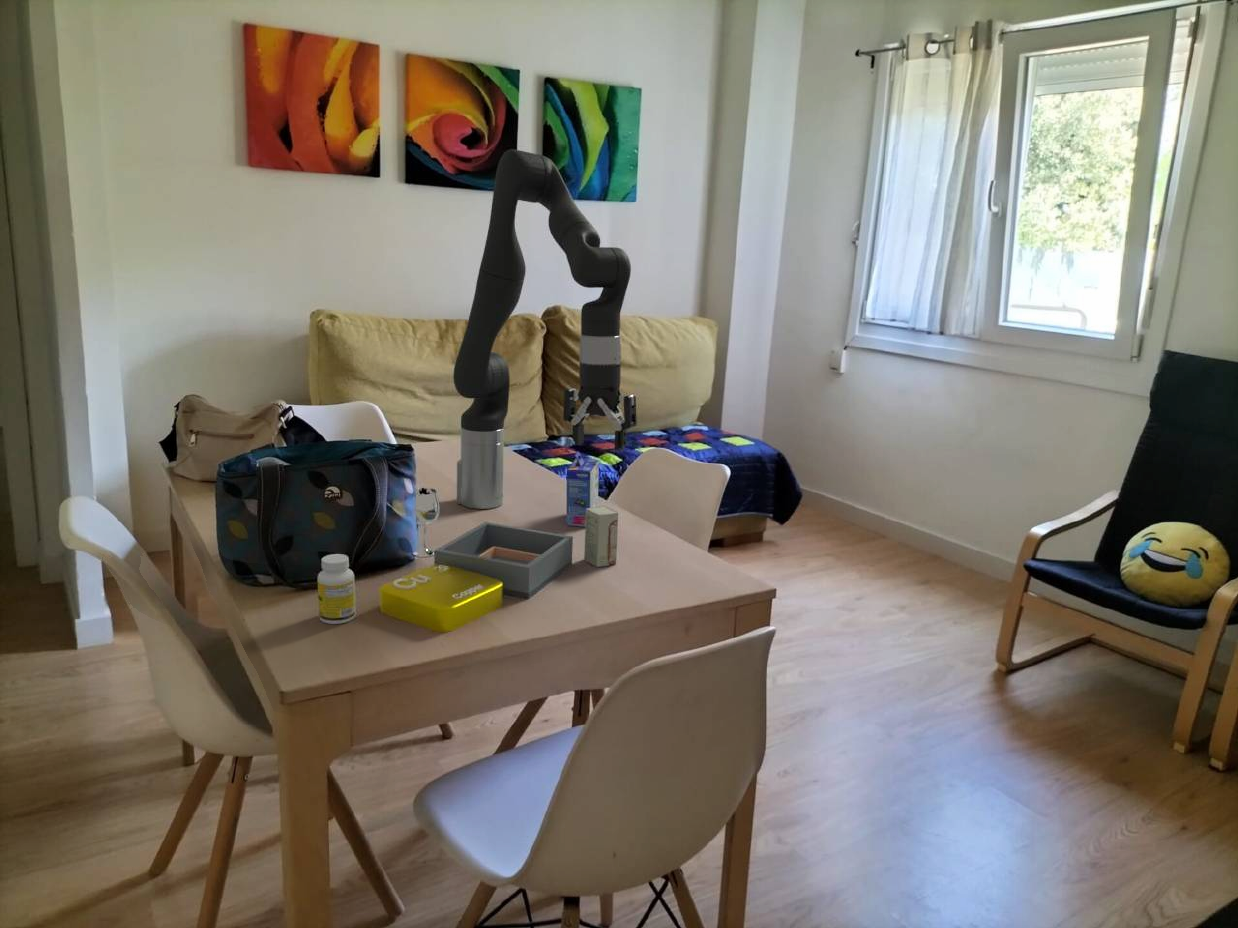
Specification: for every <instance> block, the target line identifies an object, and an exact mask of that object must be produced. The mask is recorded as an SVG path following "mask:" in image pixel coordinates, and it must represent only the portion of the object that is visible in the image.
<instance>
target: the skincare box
mask: <svg viewBox="0 0 1238 928" xmlns="http://www.w3.org/2000/svg"><path fill="white" fill-rule="evenodd" d="M618 526H619V512H618V511H615V510H613V509H612V508H610V507H607V506H598V507H595V508H586V521H585V527H584V550H583V551H584V554H583V555H584V557H583V558H584V560H585V561H586V562H587V563H590V564H591V565H592V566H595V567H596V568H600V567H605V566H612V565H617V554H618V553H617V552H618V548H617V547H618V531H619V530H618Z"/></svg>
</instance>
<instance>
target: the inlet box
mask: <svg viewBox="0 0 1238 928" xmlns="http://www.w3.org/2000/svg"><path fill="white" fill-rule="evenodd" d="M573 538H574V537H573V536H571V535H565V534H559V533H554V532H547V531H543V530H542V531H541V530H535V529H529V528H524V527H517V526H514V525H513V526H511V525H506V524H499V523H494V522H487V521H485V522H482V523H480V524H479V525H477V526H475V527H474V528H472V529H470V530H467V532H464V533H463V534H461V535H459V536H457V537H455V538H454V539H452V540H450V541H448V542H447V543H444V544H443V545H441V546H440V547H437V548H436V549H433V550H434V555H433V556H434V564H438V563H443V564H447V565H451V566H454V567H457V568H461V569H464V570H467V571H471V572H474V573H477V574H481V575H484V576H488V577H491V578H494V579H498V580H500V581H501V582H502V583H503V595H505V596H506V595H507V596H512V597H516V598H522V599H526V600H530V599H531V598H532V597H533V596H534V595H535V594H537V593H538V592H540V591H541V590H542V589H544V588H545V587H546V586H547V585H548V584H550V583H551V582H553V580H555V579H556V578H557V577H559V576H560V575H561V574H563V573H564V572H565V571H566V570H567V569H569V568H570V567H571V566H572V565H573V545H574V544H573ZM434 564H433V565H434Z"/></svg>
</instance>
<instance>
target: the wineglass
mask: <svg viewBox="0 0 1238 928" xmlns="http://www.w3.org/2000/svg"><path fill="white" fill-rule="evenodd" d="M415 489H416V520H417V523H416V524H417V525H419V526H421V529H420V531H421V535H422V536H421V537H422V545H421V547H420V548H417V549H418V554H417V556H418V558H428V557H433V556H434V550H435V549H433V548H427V547H426V533H427V532H428V531H427V525H430V524H432V523H434V522H435V521H437V519H438V518H439V515H440V511H441V510H440V509H441V507H440V506H441V505H440V500H439V495H438V492H437V490H436V489H434V488H431V487H417V488H415ZM417 556H416V557H417Z"/></svg>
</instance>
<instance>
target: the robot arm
mask: <svg viewBox="0 0 1238 928" xmlns="http://www.w3.org/2000/svg"><path fill="white" fill-rule="evenodd" d="M494 178H495V180H494V185H493V194H492V200H491V201H492V202H491V210H490V218H489V223H488V230H487V235H486V240H485V245H484V249H483V254H482V258H481V262H480V266H479V269H478V275H477V279H476V283H475V291H474V296H473V300H472V304H471V308H470V313H469V316H468V321H467V325H466V329H465V332H464V336H463V339H462V342H461V345H460V347H459V351H458V354H457V356H456V359H455V360H456V361H455V364H454V368H453V383H454V387H455V389H456V391H457V393H458V394H459V395H460V396H462V397H463V398H466V399H473V402H472V403H471V405H470V406H469V407H468V408H467V409H466V410H465V411H464V412H463V413H461V416H460V460H458V461H457V462H456V504H459V505H462V506H463V507H466V508H470V509H478V510H483V509H485V510H486V509H494V508H498V507H500V506H502V505H503V501H504V499H503V497H504V493H503V491H504V448H505V446H504V442H505V440H504V439H505V437H504V436H505V433H504V432H505V429H504V428H505V419H506V417H507V416H508V411H509V399H510V397H509V396H510V385H511V384H510V383H511V382H510V381H511V380H510V377H511V376H510V369H509V366H508V364H507V363H508V362H507V361H506V359H505V358H504V356H502V355H501V354H499V353H497V352H492V351H493V347H494V343H495V341H496V340H497V339H496V338H498V337H497V336H498V335H499V334H500V333H499V332H501V330H502V328H503V327H504V325H505V324H506V323H507V322H508V320H509V318H510V317H511V315H512V313H513V312H514V310H515V309H516V307H517V305H518V303H519V302H520V297H521V294H522V289H523V287H524V286H523V285H524V282H525V278H526V269H527V268H526V267H527V266H526V262H525V258H524V254H523V252H522V248H521V246H520V242H519V240H518V236H517V232H516V225H515V224H516V221H515V220H516V212H517V205H518V202H519V201H522V202H526V203H535V204H536V203H538V204H540V205H542V206H543V207H544V208H546V209H547V210H548V211H549V214H548V228H549V229H548V230H549V232H550V234H551V236H552V237H553V239H554V241H555V242H556V244H558V246H559V247H560V249H561V250H562V251H563V253H564V254H565V256H566V260H567V263H568V266H569V270H570V273H571V277H572V279H573V281H575V282H576V284H578V285H580V286H581V287H583V288H588V289H595V288H597V289H598V288H599V289H600V288H602V291H601V293H600V294H599V295H600V296H599V297H598V298H596V299H594V300H591V301H588V302H585V303H584V304H583V305H582V307H581V313H580V320H581V321H580V343H579V355H578V356H579V358H578V359H579V364H578V365H579V372H578V373H579V374H578V375H579V377H578V382H579V386H580V388H579V390H578V389H577V388H575V387H572V388H567V389H565V390H564V393H563V394H564V395H563V397H564V398H563V414H562V418H563V419H562V420H564V421H565V422H569V423H570V424H571V425H572V441H573V442H574V445H575V446H581V445H583V444H584V442H585V424H583V423H584V422H585V420H586V419H587V417H588V416H599V417H607V419H608V421H610V422H611V423H612V425H613V426H614V428H615V429H616V430H614V450H615V451H616V452H620V451H622V450H624V448H625V447H626V446H627V430H628V429H631V428H634V427H636V426H637V425H638V424H637V423H638V422H637V421H638V419H637V397H636V395H635V394H634V393H632V394H631V393H630V394H621V391H620V386H621V378H622V377H621V375H622V374H621V372H622V371H621V365H622V363H621V362H622V346H621V345H622V344H621V335H620V334H621V330H620V329H621V311H622V307H623V304H624V301H625V300H624V299H625V297H626V293H627V289H628V287H629V286H628V285H629V282H630V279H631V271H632V268H631V267H632V266H631V262H630V261H631V260H630V258H629V255H628V253H626V251H625V250H624V249H622V248H620V247H612V246H611V247H610V246H609V247H603V246H602V247H601V236H600V234H599V233H598V231H597V230H596V229H595V227H594V226H593V225H592V223H591V222H590V221H589V220H588V219H587V217H586V216H585V215H584V214H583V213H582V211H581V210H580V209H579V207H578V206H577V204H576V203H575V200H574V198H573V197H572V195H571V193H570V191H569V189H568V187H567V185H566V183H565V181H564V180H563V177H562V175H561V173H560V171H559V170H558V167H557V166H556V165H555V163H554V162H553V160H552V159H550V158H549V157H547V156H545V155H542V154H538V153H534V152H529V151H528V152H527V151H524V150H519V149H514V148H512V149H507V150H506V151H505V152H504V153H503V154H502V156H501V157H500V159H499V162H498V165H497V169H496V174H495V177H494ZM578 400H579V401H580V402H581V405H580V406H579V408H578V409H577V408H576V407H577V401H578ZM620 403H621V406H622V407H623V411H622V410H621V409H620V407H619V404H620ZM576 409H577V410H576Z"/></svg>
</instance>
